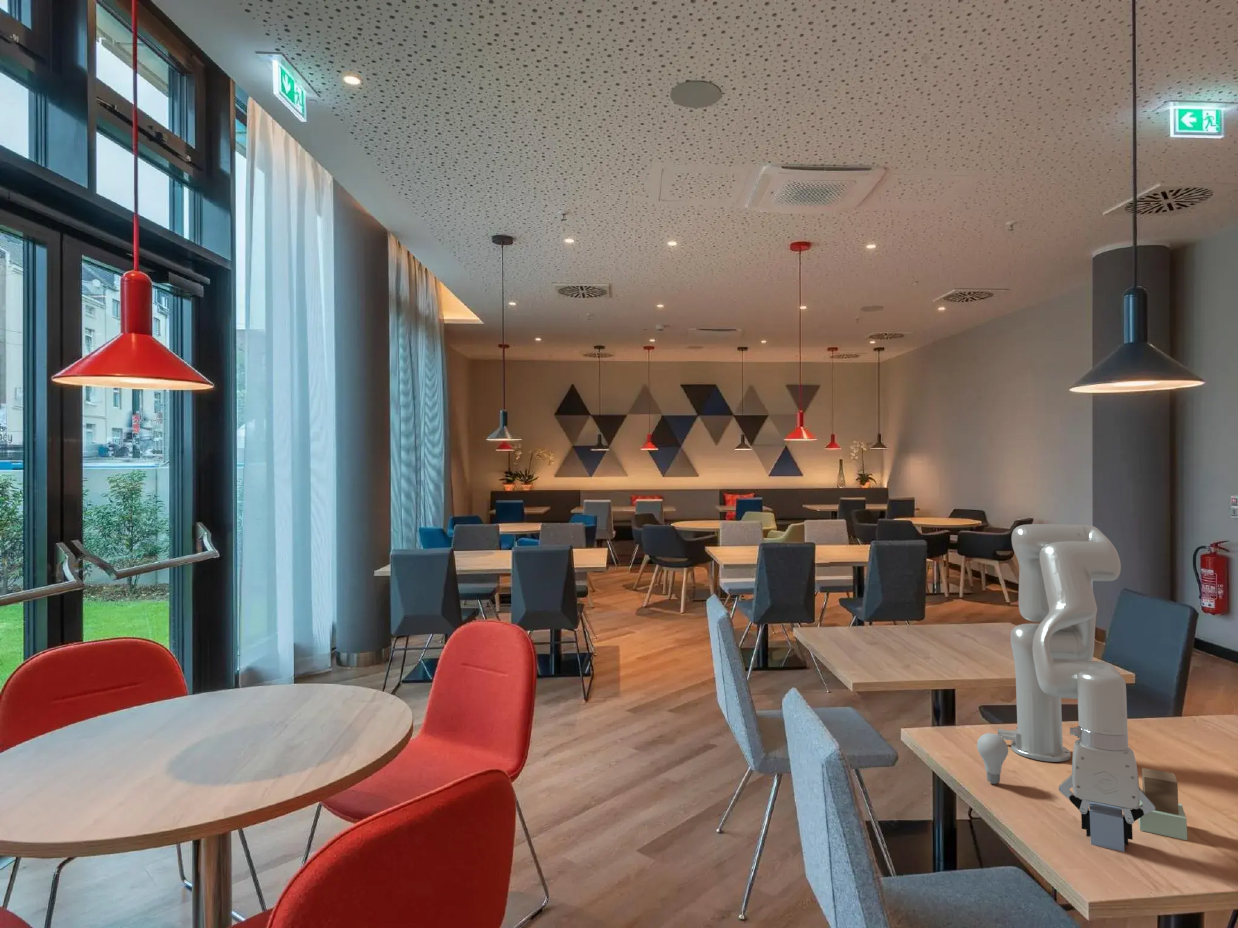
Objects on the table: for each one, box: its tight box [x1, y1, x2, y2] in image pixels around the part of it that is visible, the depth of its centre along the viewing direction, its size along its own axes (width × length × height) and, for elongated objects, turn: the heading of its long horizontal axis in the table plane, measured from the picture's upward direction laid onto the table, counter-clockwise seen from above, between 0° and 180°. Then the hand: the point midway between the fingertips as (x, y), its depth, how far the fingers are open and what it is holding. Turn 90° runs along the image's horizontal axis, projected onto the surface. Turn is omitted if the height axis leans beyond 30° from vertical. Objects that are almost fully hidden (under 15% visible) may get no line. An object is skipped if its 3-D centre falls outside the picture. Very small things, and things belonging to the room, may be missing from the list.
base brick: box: [1137, 801, 1188, 841], centre depth 132 cm, size 7×7×4 cm
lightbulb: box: [976, 732, 1009, 785], centre depth 152 cm, size 6×6×11 cm
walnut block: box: [1141, 767, 1179, 815], centre depth 132 cm, size 5×5×6 cm
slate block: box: [1088, 802, 1125, 853], centre depth 127 cm, size 5×5×6 cm
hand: (1106, 836), depth 127 cm, fingers closed on slate block, 5 cm apart
